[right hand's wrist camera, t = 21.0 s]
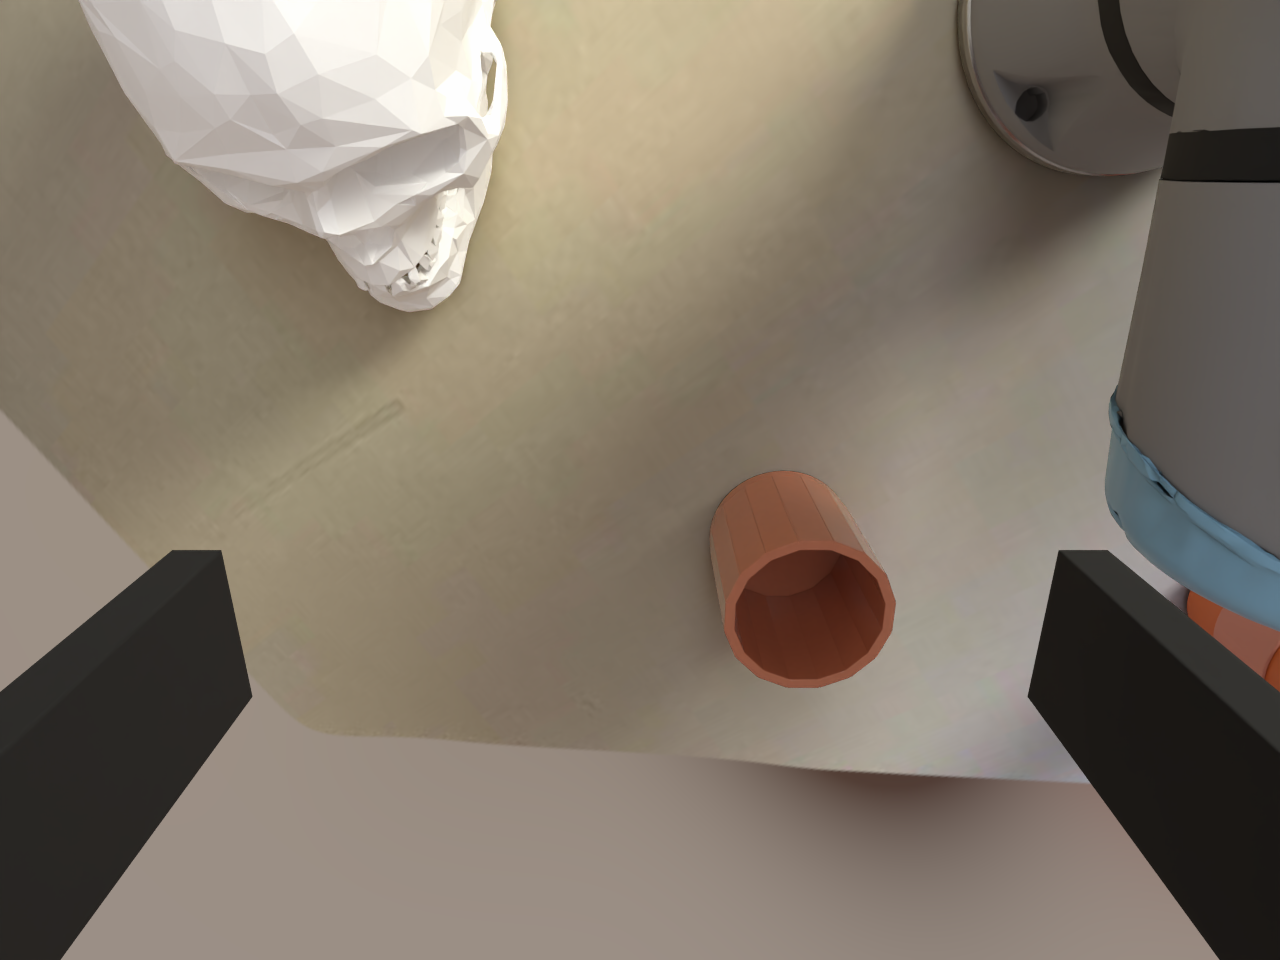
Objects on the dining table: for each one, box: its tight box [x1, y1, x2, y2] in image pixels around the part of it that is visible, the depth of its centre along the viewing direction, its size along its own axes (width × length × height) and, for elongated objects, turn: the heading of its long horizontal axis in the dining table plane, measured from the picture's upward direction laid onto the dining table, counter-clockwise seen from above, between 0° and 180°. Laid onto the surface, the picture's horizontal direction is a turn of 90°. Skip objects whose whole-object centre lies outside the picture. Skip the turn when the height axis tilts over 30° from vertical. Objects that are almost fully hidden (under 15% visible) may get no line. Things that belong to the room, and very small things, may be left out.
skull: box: [78, 0, 508, 312], centre depth 30 cm, size 13×22×16 cm, turn 10°
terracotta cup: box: [710, 471, 896, 688], centre depth 42 cm, size 8×8×9 cm
